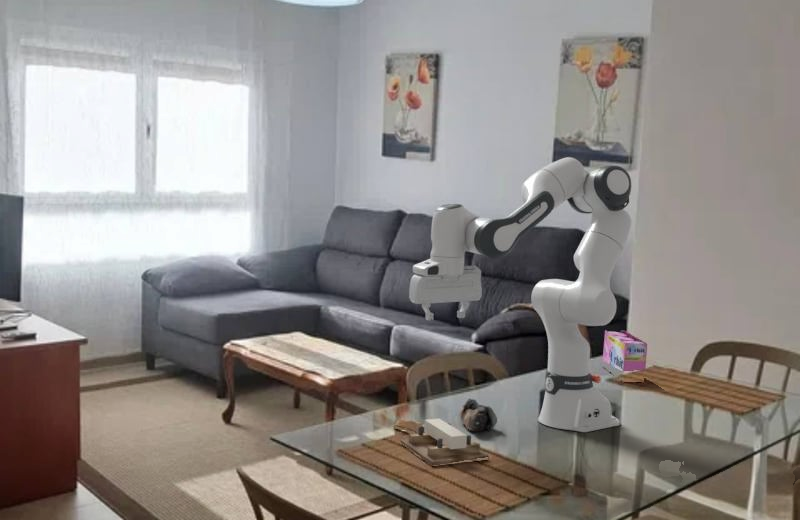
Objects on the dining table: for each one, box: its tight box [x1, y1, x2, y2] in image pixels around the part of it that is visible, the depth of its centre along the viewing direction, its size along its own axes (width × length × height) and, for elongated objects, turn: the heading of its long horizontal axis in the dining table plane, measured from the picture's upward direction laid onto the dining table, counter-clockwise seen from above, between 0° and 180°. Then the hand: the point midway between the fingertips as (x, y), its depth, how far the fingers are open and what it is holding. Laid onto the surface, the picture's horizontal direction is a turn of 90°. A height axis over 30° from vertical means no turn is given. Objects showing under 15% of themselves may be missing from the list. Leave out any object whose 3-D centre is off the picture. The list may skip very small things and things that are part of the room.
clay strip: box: [423, 418, 468, 449], centre depth 210 cm, size 4×14×3 cm, turn 25°
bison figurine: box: [459, 398, 498, 432], centre depth 231 cm, size 12×7×10 cm
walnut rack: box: [399, 422, 489, 467], centre depth 210 cm, size 15×17×5 cm
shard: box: [392, 419, 424, 433], centre depth 226 cm, size 11×8×2 cm
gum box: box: [602, 329, 648, 371], centre depth 301 cm, size 24×8×14 cm, turn 4°
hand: (445, 318), depth 229 cm, fingers open, 8 cm apart
